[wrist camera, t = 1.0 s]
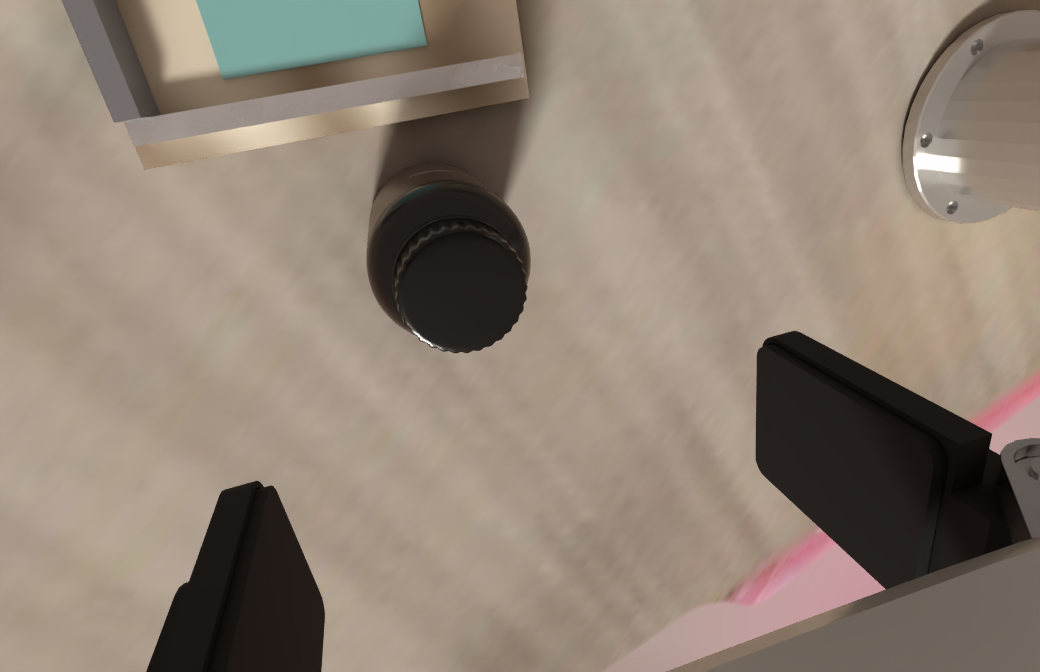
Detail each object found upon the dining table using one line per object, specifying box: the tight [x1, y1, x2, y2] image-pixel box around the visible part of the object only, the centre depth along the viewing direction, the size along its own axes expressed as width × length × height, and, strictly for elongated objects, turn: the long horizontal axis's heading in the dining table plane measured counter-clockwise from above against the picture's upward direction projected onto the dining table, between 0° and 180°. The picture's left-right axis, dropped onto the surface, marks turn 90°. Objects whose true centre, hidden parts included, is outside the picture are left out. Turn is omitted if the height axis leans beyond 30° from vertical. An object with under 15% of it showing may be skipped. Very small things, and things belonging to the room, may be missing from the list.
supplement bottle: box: [367, 163, 531, 353], centre depth 26 cm, size 7×7×12 cm
